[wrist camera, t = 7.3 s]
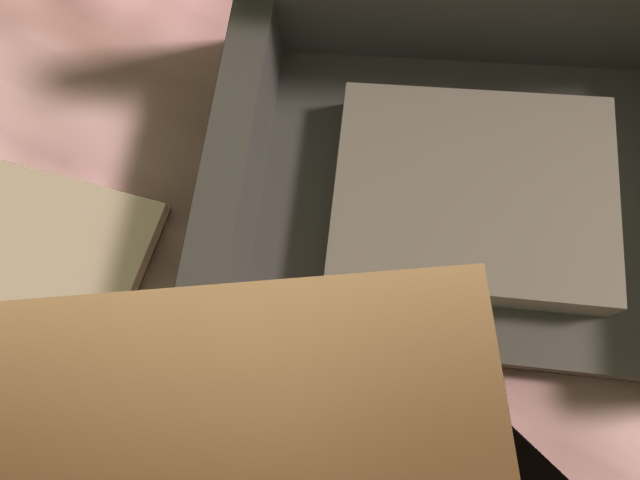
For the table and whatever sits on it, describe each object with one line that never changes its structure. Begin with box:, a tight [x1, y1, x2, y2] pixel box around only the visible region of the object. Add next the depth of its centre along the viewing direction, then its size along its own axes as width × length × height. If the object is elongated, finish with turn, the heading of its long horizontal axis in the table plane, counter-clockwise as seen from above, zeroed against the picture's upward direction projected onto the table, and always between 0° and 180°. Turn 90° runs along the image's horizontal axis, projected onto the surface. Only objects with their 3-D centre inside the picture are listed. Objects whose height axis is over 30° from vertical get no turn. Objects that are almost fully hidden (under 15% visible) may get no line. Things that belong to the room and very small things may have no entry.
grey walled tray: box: [175, 0, 640, 382], centre depth 18 cm, size 14×19×8 cm
